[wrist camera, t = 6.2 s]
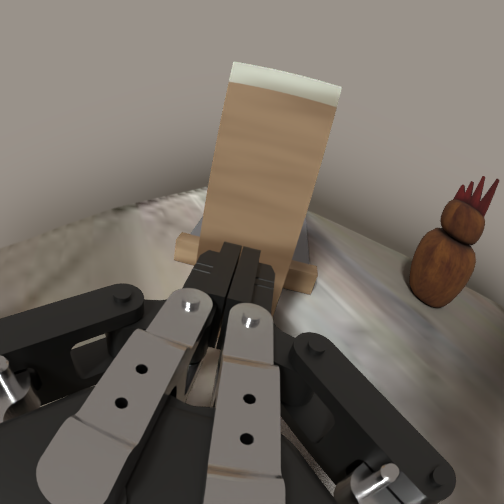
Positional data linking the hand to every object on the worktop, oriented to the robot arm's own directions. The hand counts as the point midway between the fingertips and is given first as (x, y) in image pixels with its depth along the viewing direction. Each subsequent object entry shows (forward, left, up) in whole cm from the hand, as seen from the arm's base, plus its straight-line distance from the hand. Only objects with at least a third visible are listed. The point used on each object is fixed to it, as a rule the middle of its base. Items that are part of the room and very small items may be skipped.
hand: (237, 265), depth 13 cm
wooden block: (-2, -6, -8) cm, 10 cm away
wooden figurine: (-24, -9, -8) cm, 27 cm away
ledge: (-4, -11, -8) cm, 14 cm away
